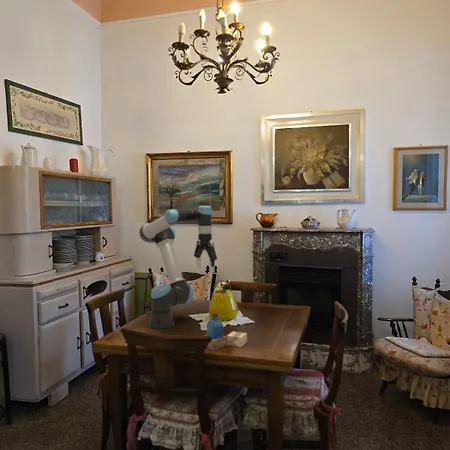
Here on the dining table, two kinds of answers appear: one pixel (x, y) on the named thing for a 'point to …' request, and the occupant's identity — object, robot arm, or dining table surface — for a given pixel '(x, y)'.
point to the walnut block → (217, 343)
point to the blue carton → (215, 327)
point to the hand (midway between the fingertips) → (205, 270)
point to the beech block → (236, 339)
